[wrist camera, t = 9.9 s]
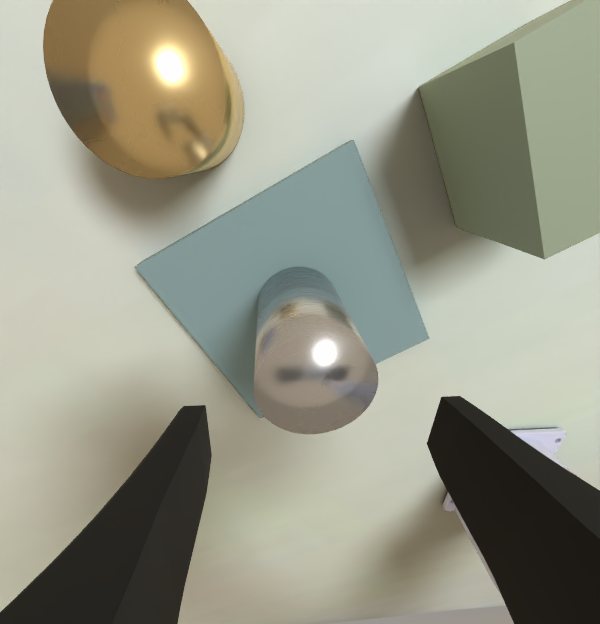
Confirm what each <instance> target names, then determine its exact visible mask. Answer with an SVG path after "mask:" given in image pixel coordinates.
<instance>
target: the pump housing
mask: <svg viewBox="0 0 600 624" xmlns="http://www.w3.org/2000/svg"><path fill="white" fill-rule="evenodd" d="M419 91H420V95H421V98H422V102H423V106H424V109H425V113H426V117H427V120H428V124H429V128H430V132H431V135H432V139H433V143H434V146H435V150H436V154H437V157H438V161H439V165H440V168H441V172H442V176H443V179H444V183H445V187H446V190H447V194H448V198H449V201H450V205H451V209H452V212H453V216H454V220H455V223H456V227H458V228H460V229H463V230H466V231H468V232H471V233H474V234H477V235H479V236H482V237H485V238H488V239H490V240H493V241H496V242H499V243H501V244H504V245H507V246H510V247H512V248H515V249H518V250H521V251H523V252H526V253H529V254H532V255H534V256H537V257H540V258H543V259H546V258H548V257H550V256H552V255H554V254H557V253H559V252H561V251H563V250H565V249H567V248H569V247H571V246H573V245H575V244H577V243H579V242H581V241H584V240H586V239H588V238H590V237H592V236H594V235H596V234H598V233H600V0H571V1H569V2H567V3H565V4H563V5H561V6H559V7H557V8H555V9H553V10H551V11H549V12H548V13H546V14H544V15H542V16H540V17H538V18H536V19H534V20H532V21H530V22H528V23H526V24H525V25H523V26H521V27H520V28H518V29H516V30H515V31H513V32H511V33H509V34H508V35H506V36H504V37H503V38H501V39H499V40H498V41H496V42H494V43H492V44H491V45H489V46H487V47H486V48H484V49H482V50H481V51H479V52H477V53H475V54H474V55H472V56H470V57H469V58H467V59H465V60H464V61H462V62H460V63H458V64H457V65H455V66H453V67H452V68H450V69H448V70H447V71H445V72H443V73H441V74H440V75H438V76H436V77H435V78H433V79H431V80H430V81H428V82H426V83H424V84H423V85H421V86H419Z"/></svg>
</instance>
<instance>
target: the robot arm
mask: <svg viewBox="0 0 600 624" xmlns="http://www.w3.org/2000/svg"><path fill="white" fill-rule="evenodd" d="M565 436H566V432H565V431H564V430H563V429H561V428H552V429H531V430H511V431H509V430H508V429H507V428H505V427H504V426H502V425H501V424H500V423H498V422H497V421H495V420H494V419H493V418H491V417H490V416H488V415H487V414H485V413H484V412H483V411H481V410H480V409H478V408H477V407H476V406H474V405H473V404H471V403H470V402H468V401H467V400H465V399H464V398H462V397H460V396H452V397H441V400H440V403H439V407H438V410H437V413H436V416H435V419H434V423H433V426H432V429H431V432H430V435H429V439H428V442H427V445H428V448H429V450H430V453H431V455H432V458H433V461H434V463H435V466H436V468H437V470H438V473H439V475H440V477H441V479H442V481H443V483H444V485H445V487H446V489H447V491H448V493H447V496H446V499H445V501H444V504H443V507H444V509H445V511H455V512H456V514H457V515H458V517H459V519H460V521H461V523H462V525H463V527H464V529H465V530H466V532H467V534H468V536H469V538H470V540H471V542H472V543H473V545H474V547H475V549H476V551H477V553H478V555H479V557H480V558H481V560H482V562H483V564H484V566H485V568H486V570H487V572H488V573H489V575H490V577H491V579H492V581H493V583H494V584H495V586H496V588H497V589H498V591H499V592H500V593H501V595H502V597H503V599H504V602H505V604H506V606H507V608H508V611H509V613H510V615H511V617H512V620H513V622H514V624H600V491H599V490H598V489H596V488H595V487H593V486H591V485H590V484H588V483H587V482H585V481H583V480H582V479H580V478H579V477H577V476H576V475H574V474H573V473H571V472H570V471H569V470H568V469H567V468H566V467H565V466H564V465H563V463H562V462H561V461H560V460H559V459H558V458H557V457H556V456H555V453H556V451H557V450H558V448H559V446H560V445H561V443H562V441H563V439H564V438H565ZM210 463H211V447H210V439H209V431H208V422H207V414H206V406H205V405H203V406H183V407H182V408H181V409H180V410H179V412H178V413H177V415H176V416H175V418H174V419H173V420H172V422H171V423H170V425H169V426H168V427H167V429H166V430H165V432H164V433H163V434H162V436H161V437H160V438H159V440H158V441H157V442H156V444H155V445H154V446H153V448H152V449H151V450H150V452H149V453H148V454H147V455H146V457H145V458H144V459H143V460H142V462H141V463H140V464H139V466H138V467H137V468H136V469H135V471H134V472H133V473H132V474H131V476H130V477H129V478H128V479H127V480H126V482H125V483H124V484H123V485H122V486H121V487H120V489H119V490H118V491H117V492H116V493H115V494H114V496H113V497H112V498H111V499H110V500H109V501H108V503H107V504H106V505H105V506H104V507H103V508H102V510H101V511H100V512H99V513H98V514H97V515H96V516H95V517H94V518H93V520H92V521H91V522H90V523H89V524H88V525H87V526H86V527H85V528H84V529H83V530H82V532H81V533H80V534H79V535H78V536H77V537H76V538H75V539H74V540H73V541H72V542H71V543H70V544H69V545H68V546H67V547H66V548H65V549H64V550H63V551H62V552H61V553H60V555H59V556H58V557H57V558H56V559H55V560H54V561H53V562H52V563H51V564H50V565H49V566H48V567H47V568H46V569H45V570H44V571H43V572H42V573H41V574H39V575H38V576H37V577H36V578H35V579H34V580H33V581H32V582H31V583H30V584H29V585H28V586H27V587H26V588H25V589H24V590H23V591H22V592H21V593H20V594H19V595H18V596H17V597H16V598H15V599H14V600H13V601H12V602H11V603H10V604H9V605H8V606H7V607H5V608H4V609H3V610H2V611H1V612H0V624H177V623H178V617H179V611H180V606H181V601H182V596H183V591H184V586H185V582H186V577H187V573H188V569H189V565H190V561H191V556H192V552H193V548H194V544H195V539H196V535H197V531H198V527H199V523H200V518H201V514H202V510H203V505H204V501H205V497H206V492H207V486H208V478H209V471H210Z"/></svg>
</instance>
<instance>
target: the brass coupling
mask: <svg viewBox="0 0 600 624" xmlns="http://www.w3.org/2000/svg"><path fill="white" fill-rule="evenodd" d="M43 50H44V62H45V68H46V74H47V78H48V81H49V85H50V88H51V91H52V94H53V96H54V99H55V101H56V103H57V105H58V107H59V109H60V111H61V113H62V115H63V117H64V118H65V120H66V122H67V123H68V125H69V126H70V128H71V129H72V130H73V132H74V133H75V134H76V135H77V137H78V138H79V139H80V140H81V141H82V142H83V143H84V144H85V146H86V147H87V148H89V149H90V150H91V151H92V152H93V153H94V154H95V155H96V156H98V157H99V158H100V159H102V160H103V161H105V162H106V163H108V164H109V165H111V166H113V167H115V168H116V169H118V170H121V171H123V172H125V173H128V174H131V175H134V176H138V177H144V178H156V179H160V178H168V177H173V176H178V175H184V174H189V173H194V172H199V171H203V170H207V169H210V168H212V167H214V166H216V165H218V164H219V163H221V162H222V161H223V160H225V159H226V158H227V157H228V156H229V154H230V153H231V152H232V151H233V149H234V148H235V146H236V144H237V142H238V140H239V138H240V134H241V131H242V127H243V122H244V100H243V94H242V90H241V86H240V82H239V80H238V77H237V75H236V72H235V71H234V69H233V67H232V65H231V63H230V62H229V60H228V59H227V57H226V56H225V54H224V53H223V51H222V50H221V48H220V46H219V45H218V43H217V42H216V40H215V39H214V37H213V36H212V34H211V33H210V31H209V30H208V28H207V27H206V25H205V24H204V22H203V21H202V19H201V18H200V16H199V15H198V13H197V12H196V10H195V9H194V8H193V7H192V6H191V4H190V3H189V2H188V1H187V0H53V2H52V4H51V6H50V9H49V12H48V15H47V18H46V24H45V29H44V40H43Z"/></svg>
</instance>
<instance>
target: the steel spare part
mask: <svg viewBox="0 0 600 624" xmlns="http://www.w3.org/2000/svg"><path fill="white" fill-rule="evenodd" d="M377 386H378V372H377V367H376V365H375V362H374V360H373V358H372V357H371V355H370V353H369V351H368V349H367V347H366V345H365V344H364V342H363V340H362V338H361V336H360V334H359V332H358V331H357V329H356V327H355V325H354V323H353V321H352V319H351V317H350V316H349V314H348V312H347V310H346V308H345V306H344V304H343V303H342V301H341V299H340V297H339V295H338V293H337V291H336V290H335V288H334V286H333V284H332V283H331V281H330V280H329V279H328V278H327V277H326V276H325V275H324V274H322V273H321V272H319V271H317V270H315V269H312V268H308V267H301V266H298V267H290V268H286V269H283V270H281V271H279V272H277V273H276V274H274V275H273V276H271V277H270V278H269V279H268V280H267V281H266V283H265V284H264V285H263V287H262V289H261V291H260V294H259V298H258V311H257V332H256V352H255V372H254V398H255V401H256V404H257V406H258V408H259V410H260V411H261V413H262V414H263V415H264V416H265V418H266V419H267V420H269V421H270V422H271V423H273V424H274V425H276V426H278V427H280V428H282V429H284V430H287V431H290V432H294V433H301V434H318V433H324V432H329V431H332V430H336V429H338V428H341V427H343V426H345V425H347V424H349V423H350V422H352V421H353V420H355V419H356V418H357V417H359V416H360V415H361V414H362V413H363V412H364V411H365V410H366V409H367V407H368V406H369V405H370V403H371V402H372V400H373V398H374V396H375V393H376V390H377Z"/></svg>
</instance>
